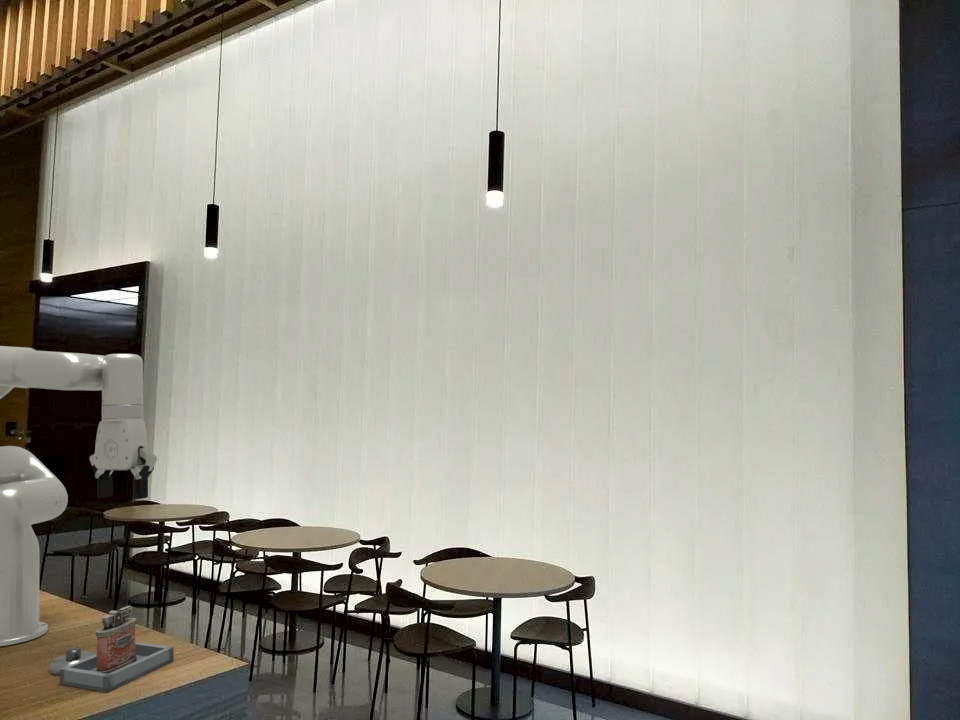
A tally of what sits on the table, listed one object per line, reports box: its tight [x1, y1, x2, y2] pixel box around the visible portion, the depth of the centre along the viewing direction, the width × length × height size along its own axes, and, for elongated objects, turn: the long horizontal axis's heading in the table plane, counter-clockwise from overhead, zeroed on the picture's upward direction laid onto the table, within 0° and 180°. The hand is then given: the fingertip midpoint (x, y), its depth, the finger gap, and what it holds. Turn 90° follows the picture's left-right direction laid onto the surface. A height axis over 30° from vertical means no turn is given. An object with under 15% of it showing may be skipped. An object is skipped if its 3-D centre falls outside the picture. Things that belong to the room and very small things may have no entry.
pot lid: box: [49, 646, 96, 677], centre depth 124 cm, size 7×7×3 cm
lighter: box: [95, 605, 137, 674], centre depth 122 cm, size 8×3×10 cm, turn 164°
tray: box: [59, 641, 175, 693], centre depth 121 cm, size 11×14×2 cm
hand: (122, 497), depth 140 cm, fingers open, 9 cm apart
